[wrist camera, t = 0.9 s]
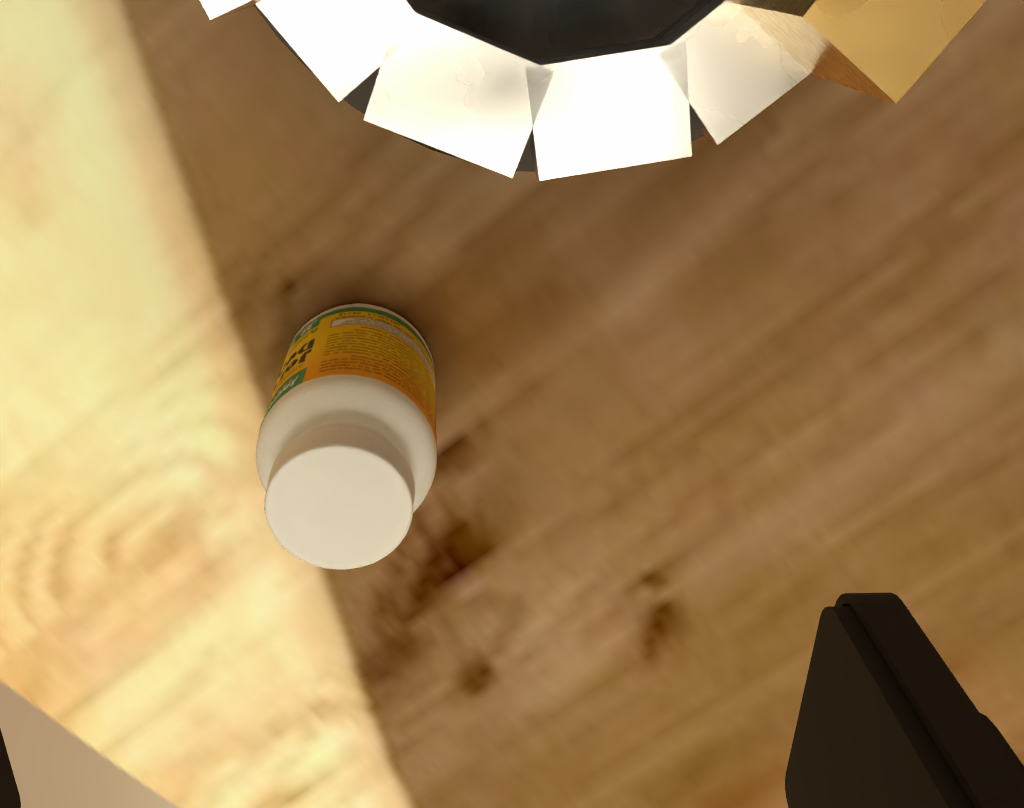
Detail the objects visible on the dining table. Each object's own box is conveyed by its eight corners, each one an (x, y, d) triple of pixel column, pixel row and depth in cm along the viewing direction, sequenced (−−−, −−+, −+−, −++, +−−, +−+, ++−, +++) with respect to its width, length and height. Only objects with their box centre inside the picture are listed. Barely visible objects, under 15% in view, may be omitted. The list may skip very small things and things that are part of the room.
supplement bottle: (412, 448, 35) (407, 610, 27) (271, 413, 34) (219, 570, 26) (454, 321, 33) (462, 453, 25) (305, 279, 32) (259, 402, 24)
